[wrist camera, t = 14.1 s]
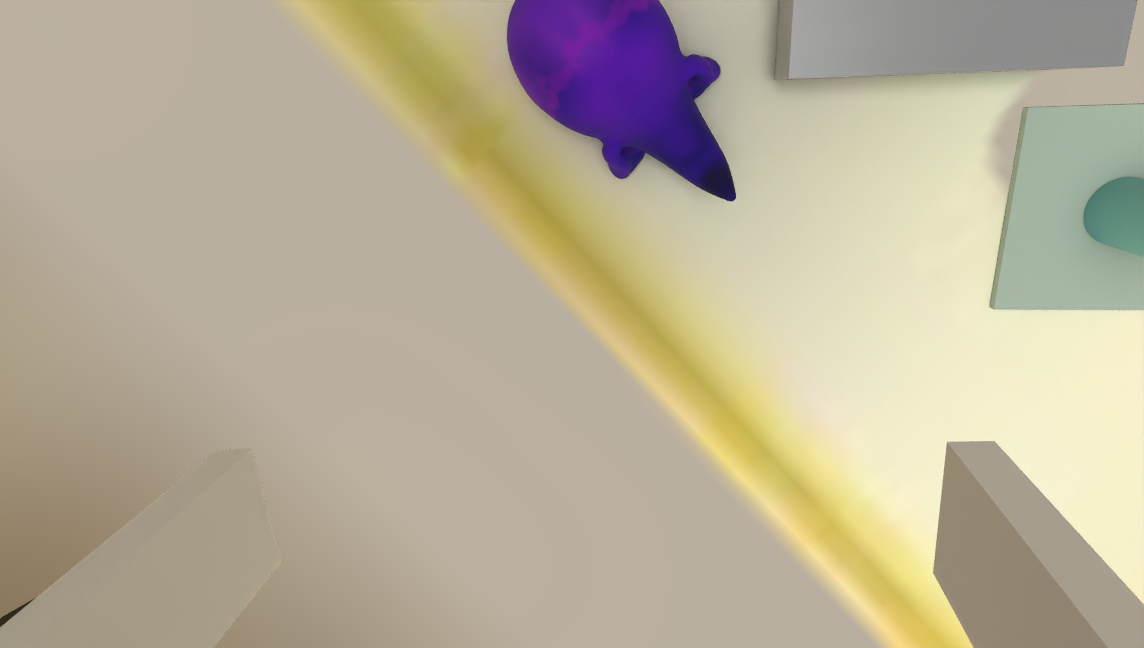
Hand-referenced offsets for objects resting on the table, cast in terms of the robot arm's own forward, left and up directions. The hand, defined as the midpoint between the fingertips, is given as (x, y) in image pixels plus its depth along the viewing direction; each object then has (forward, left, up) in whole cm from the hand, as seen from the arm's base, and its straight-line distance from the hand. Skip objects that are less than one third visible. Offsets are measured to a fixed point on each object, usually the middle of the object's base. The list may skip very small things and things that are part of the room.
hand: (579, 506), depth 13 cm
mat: (0, +28, -33) cm, 43 cm away
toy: (-8, 0, -33) cm, 34 cm away
